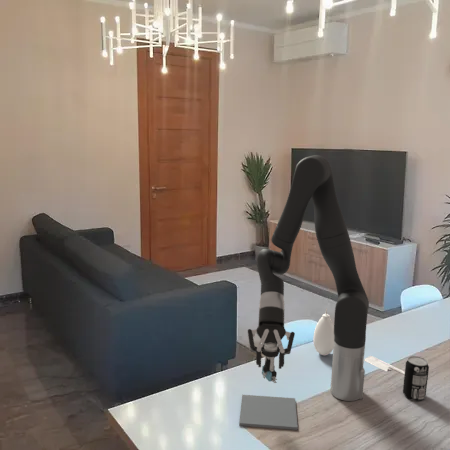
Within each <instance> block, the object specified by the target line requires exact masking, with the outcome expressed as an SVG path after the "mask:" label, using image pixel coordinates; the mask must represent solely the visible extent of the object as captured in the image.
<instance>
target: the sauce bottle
mask: <svg viewBox="0 0 450 450" xmlns="http://www.w3.org/2000/svg"><path fill="white" fill-rule="evenodd" d="M312 341H313V346H314V349H315V350H316V352H317V353H318V354H319V355H321V356H327V355H329V354H331V353H333V348H334V321H332V319H331V316H330V314H328V308H327V307H326V309H325V313H323V314H322V315H321V317H320V318H319V320H318V321H317V324H315V328H314V332H313V340H312Z"/></svg>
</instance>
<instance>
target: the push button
mask: <svg viewBox="0 0 450 450" xmlns="http://www.w3.org/2000/svg"><path fill="white" fill-rule="evenodd" d="M261 350H262V351H261V355H263V356H264V357H265V358H264V364H263V365H261V367H262V369H261V370H262V371H261V374H262V378H264V379H266V380H267V381H268V382H270V383H271V382H273V384H276V383H277V380H278V379H277V373H278V372H277V370H275V368H276V367H275V358H277V357H279V354H280V353H279V352H280V349H279V347H278V346H277V345H276V344H275V343H271V342H268V343H265V345H263V347H261Z"/></svg>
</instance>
